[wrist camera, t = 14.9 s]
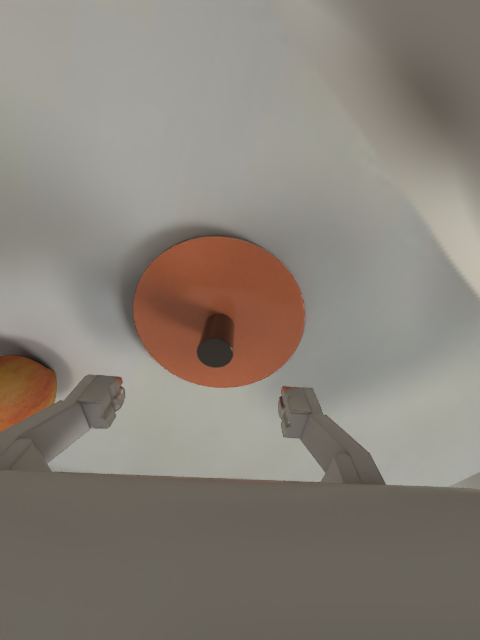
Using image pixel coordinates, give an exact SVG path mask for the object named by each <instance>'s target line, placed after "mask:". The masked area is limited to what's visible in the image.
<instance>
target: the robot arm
mask: <svg viewBox="0 0 480 640" xmlns="http://www.w3.org/2000/svg"><path fill="white" fill-rule="evenodd" d="M122 383H123V381H122V378H121V377H116V376H104V375H90V374H89V375H87V376H85V377H84V378H83V379H82V380H81V382H80V383H79V384H78V385H77V386H76V387H75V388H74V390H73V391H72V392H71V393H70V394H69V395H68V396H67V398H66V399H65V400H64V401H61V400H60V401H59V402H57V403H55V404H53V405H51V406H49V407H47V408H45V409H43V410H42V411H40V412H38V413H36V414H34V415H32V416H30V417H28V418H26V419H25V420H23V421H21V422H19V423H17V424H15V425H13V426H11V427H10V428H8V429H6V430H4V431H2V432H0V640H480V490H478V489H472V488H454V487H429V486H403V485H386V484H385V482H384V480H383V478H382V476H381V474H380V472H379V470H378V468H377V466H376V464H375V463H374V461H373V459H372V457H371V455H370V453H369V452H367V451H366V450H365V449H364V448H363V447H362V446H361V445H360V444H359V443H357V442H356V441H355V440H354V439H353V438H352V437H351V436H350V435H348V434H347V433H346V432H345V431H344V430H343V429H342V428H341V427H339V426H338V425H337V424H336V423H335V422H334V421H333V420H332V419H331V418H329V417H328V416H327V415H323V412H322V410H321V407H320V405H319V402H318V400H317V397H316V395H315V392H314V390H313V389H312V388H306V387H286V386H283V387H282V390H281V394H282V396H281V397H280V398H279V402H278V412H279V417H280V418H281V419H282V422H281V428H282V433H283V437H287V438H300V440H301V441H302V442H303V444H304V445H305V446H306V448H307V449H308V450H309V452H310V453H311V454H312V456H313V457H314V458H315V460H316V461H317V462H318V463H319V465H320V466H321V467H322V469H323V470H324V471H325V475H324V477H323V479H322V481H321V482H302V481H276V480H251V479H226V478H201V477H175V476H149V475H123V474H98V473H73V472H52V471H51V469H50V467H49V466H48V463H49V462H50V461H51V460H53V459H54V458H55V457H56V456H58V455H59V454H60V453H61V452H63V451H64V450H65V449H66V448H68V447H69V446H70V445H71V444H72V443H74V442H75V441H76V440H77V439H79V438H80V437H81V436H82V435H84V434H85V433H86V432H87V431H89V430H90V428H101V429H109V428H110V426H111V424H112V422H113V421H114V419H115V417H116V414H115V412H116V411H117V410H119V409H120V408H121V407H122V405H123V403H124V399H125V390H124V388H123V387H122V386H121V384H122Z"/></svg>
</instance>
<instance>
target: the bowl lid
mask: <svg viewBox="0 0 480 640" xmlns="http://www.w3.org/2000/svg"><path fill="white" fill-rule="evenodd" d="M133 314H134V322H135V326H136V330H137V332H138V335H139V337H140V339H141V341H142V343H143V345H144V347H145V348H146V349H147V351H148V352H149V353H150V355H151V356H152V357H153V358H154V359H155V360H156V361H157V362H158V363H159V364H160V365H161V366H163V367H164V368H165V369H166V370H168V371H169V372H171V373H172V374H174V375H176V376H178V377H180V378H182V379H184V380H187V381H189V382H192V383H195V384H198V385H203V386H208V387H217V388H228V387H238V386H243V385H247V384H251V383H254V382H257V381H259V380H262V379H264V378H266V377H267V376H269V375H271V374H272V373H274V372H275V371H277V370H278V369H279V368H280V367H282V366H283V365H284V364H285V363H286V362H287V361H288V360H289V358H290V357H291V356H292V354H293V353H294V352H295V350H296V348H297V346H298V344H299V342H300V340H301V337H302V334H303V330H304V324H305V308H304V301H303V298H302V294H301V291H300V289H299V287H298V285H297V282H296V281H295V279H294V278H293V276H292V275H291V273H290V271H289V270H288V269H287V268H286V267H285V266H284V265H283V263H282V262H281V261H280V260H278V259H277V258H276V257H275V256H274V255H273V254H271V253H270V252H268V251H266V250H265V249H263V248H262V247H260V246H258V245H255V244H253V243H251V242H248V241H245V240H242V239H238V238H233V237H227V236H205V237H197V238H194V239H190V240H186V241H184V242H181V243H179V244H177V245H174V246H173V247H171V248H169V249H168V250H166V251H165V252H163V253H162V254H160V255H159V256H158V257H157V258H156V259H155V260H154V261H153V262H152V263H151V264H150V265H149V266H148V268H147V269H146V270H145V272H144V273H143V275H142V277H141V278H140V280H139V283H138V285H137V288H136V291H135V296H134V302H133Z"/></svg>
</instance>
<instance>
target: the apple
mask: <svg viewBox="0 0 480 640" xmlns="http://www.w3.org/2000/svg"><path fill="white" fill-rule="evenodd" d="M56 393H57V381H56V374H55V372H54V371H53V370H52V369H48V368H46V367H44V366H43V365H41V364H39V363H37V362H36V361H33V360H31V359H28V358H26V357H23V356H17V355H4V356H0V432H2V431H4V430H6V429H8V428H10V427H11V426H13V425H15V424H17V423H19V422H21V421H23V420H25V419H26V418H28V417H30V416H32V415H34V414H36V413H38V412H40V411H42V410H43V409H45V408H47V407H49V406H51V405H53V404H54V401H55V398H56Z"/></svg>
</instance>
